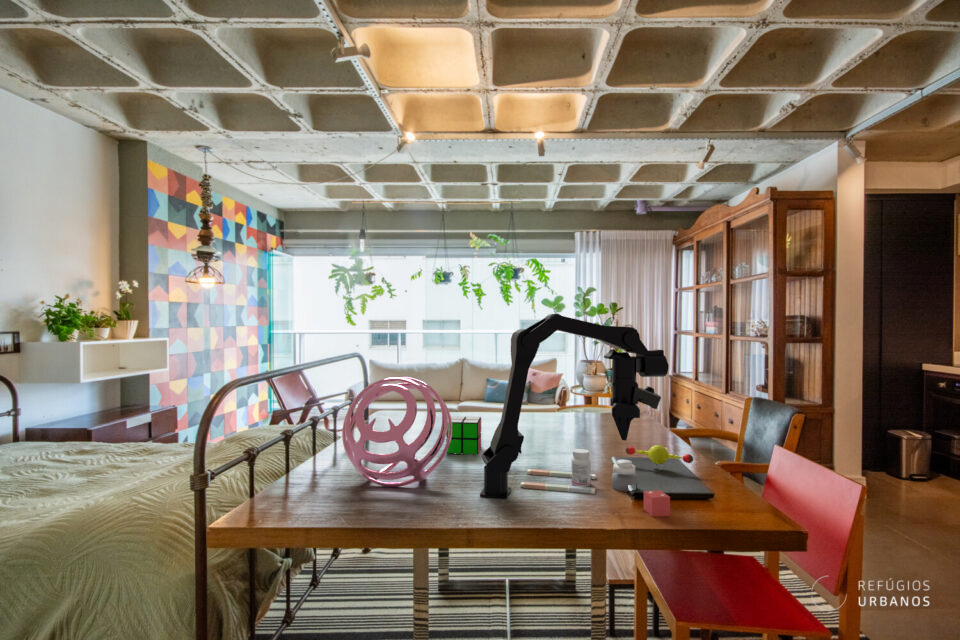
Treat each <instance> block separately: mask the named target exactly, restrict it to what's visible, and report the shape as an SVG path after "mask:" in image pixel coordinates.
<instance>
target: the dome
mask: <svg viewBox="0 0 960 640" xmlns="http://www.w3.org/2000/svg"><path fill="white" fill-rule="evenodd" d="M612 471H613V473H614V472H616V473H619V474H625V475H630V474H636V465H634V464H633V462H632V461H631V460H628V459H617V460H616V463H614V464H613V469H612Z"/></svg>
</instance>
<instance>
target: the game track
mask: <svg viewBox="0 0 960 640" xmlns="http://www.w3.org/2000/svg"><path fill="white" fill-rule="evenodd" d="M526 470H527V471H526V474H527V475H531V474H532V475H534V476H545V477H547V476H548V477H559V478H561V477H562V478H571V479H572V471H563V470H560V471H559V470H548V469H535V468H532V469H531V468H530V469H529V468H528V469H526ZM596 476H597V475H596V474H594V473H591V480H596ZM636 483H637V484H638V475H636V473H634V474H630V475H625V474H619V473H616V472H614V471H613V472H612V473H611V489H614V490H616V491H620V492H625V493H629V492H628V485H632V484H636ZM519 487H520V488H522V487H523V489H534V490H535V489H536V490H547V491H558V492H569V493H583V494H593V495H595V494H596V488H595V487H591V486H587V487H582V486H575V485H567V484H554V483H541V482H530V481H524V482H523V481H521V482H520V486H519Z"/></svg>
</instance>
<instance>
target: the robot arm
mask: <svg viewBox="0 0 960 640" xmlns="http://www.w3.org/2000/svg"><path fill="white" fill-rule="evenodd" d="M557 331H559V332H563V333H567V334H570V335H571V334H572V335H575V336H580V337H584V338H588V339H592V340H593V339H594V340H597V341H599V342H601V343H603V344H605V345H607V346H609V347H611V348H610V349H609V351H608V352H607V353H605V355H604V356H603V358H604V359H606V360H612V361H611V362H612V366H611V367H612V372H611V373H612V374H611V376H612V378H611V384H612V385H611V386H612V387H611V389H612V390H611V391H612V392H611V393H612V395H611V396H610V406H611V417H613V421H614V423H615V426H616V428H617V431H618V434H619V436H620V439H621V441H627V438H628V436H629V430H630V426H631V423H632V420H634V419H641V408H640V406H638V405H639V403H640V404H643V405H645V406H648V407H650V408H651V409H655V410H657V409H658V407H659V404H660V402H661V399H662V396H661V395H660V394H658V393H656V392H655V388H654V387H653V386H652V387H651V386H646V387H645V388H642V387H639V383H638V382H637V374H638V375H639V376H640V377H641V378H651V377H652V378H655V377H656V378H658V377H659V378H661V377H662V378H663V377H666V376H667V375H668V373H669V367H670V366H669V365H670V364H669V363H668V359H667V357H666V356H665V353H664V351H665V350H663V349H651V350H648V348H647V347H646V346H645V344H644V343H643V340H641V336H640V333H639V331H638V329H636V327H631V326H617V325H602V324H598V323H593V322H589V321H586V320H581V319H577V318H573V317H570V316H565V315H561V314H559V313H550V314H547V315H546V316H545V317H544V318H542V319H540V320H539V321H537V322H535V323H534V324H531V325H529V326H528V327H526V328H519V329H517V330H515V331H514V332H513V333H512V334H511V338H510V360H511V367H510V371H509V376H508V377H509V378H508V382H507V387H506V393H505V397H504V403H503V407H502V413H501V418H500V421H499V423H498V424H497V427H496V429H495V431H494V434H493V435H492V438H491V441H490V446H489V447H488V448H487V449H486V450H485V451H484V452H483V453H482V454H481V458H482V461H483V463H484V464H485V465H484V467H483V489H482V490H481V492H480V493H479V496H480V497H484V498H495V499H496V498H497V499H508V497H509V495H510V493H511V492H512V487H509V473H510V472H509V471H510V470H511V467H512V463H514V462H515V461H517V459H518V457H519V454H522V452H523V451H522V447H523V446H522V445H523V442H524V439H525V436H524V434H523V433H521V431H519V423H520V422H519V421H520V416H521V412H522V411H521V410H522V405H523V401H524V396H525V390H526V386H527V380H528V374H529V370H530V367H531V365H532V363H533V361H534V359H535V358H536V355H537V353H538V350H539V348H540V344H542V343H543V342H545V341H546V340H547V339H548V338H549V337H551V336H552V335H553V334H554V333H556V332H557ZM612 348H614V349H612ZM616 350H623V351H624V352H623V351H622V352H621V351H619V352H618V351H616ZM631 354H634V355H633V356H631Z"/></svg>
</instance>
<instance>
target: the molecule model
mask: <svg viewBox="0 0 960 640" xmlns="http://www.w3.org/2000/svg"><path fill="white" fill-rule="evenodd" d="M669 451H670V450H669V448H668V447H665V446H663V445H660V444H655V445H652V446H651V447H650V448H649V450H642V449H641V450H636V448H635V447H634V446H631V445H628V446H627V447H626V448H625V452H626V454H627V455H634V454H636V453H638V454H640V455H646V456H648V458H649V460H650V461H651V462H652V463H653V464H654V463H655V464H656V465H660V464H663V465H664V464H665V463H666V462H667V461H669V459H674V460H678V459H682V461H683V462H684V463H687V464H692V463H693V462H694V456H693V455H692V454H691V453H685V454H684V455H682V456H679V455H677V454H671V453H669Z"/></svg>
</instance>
